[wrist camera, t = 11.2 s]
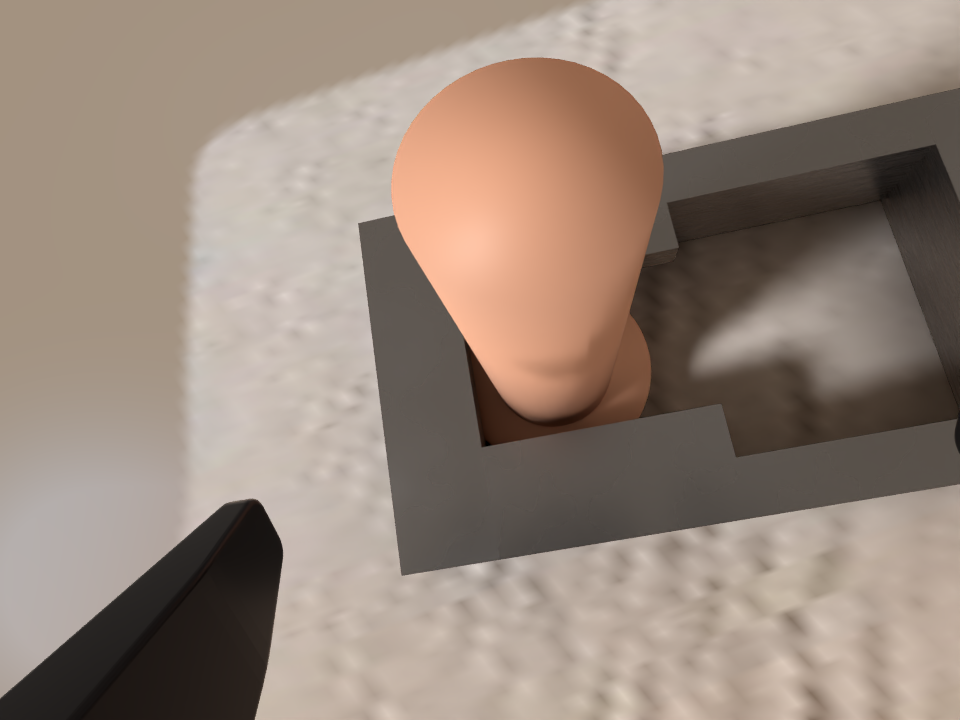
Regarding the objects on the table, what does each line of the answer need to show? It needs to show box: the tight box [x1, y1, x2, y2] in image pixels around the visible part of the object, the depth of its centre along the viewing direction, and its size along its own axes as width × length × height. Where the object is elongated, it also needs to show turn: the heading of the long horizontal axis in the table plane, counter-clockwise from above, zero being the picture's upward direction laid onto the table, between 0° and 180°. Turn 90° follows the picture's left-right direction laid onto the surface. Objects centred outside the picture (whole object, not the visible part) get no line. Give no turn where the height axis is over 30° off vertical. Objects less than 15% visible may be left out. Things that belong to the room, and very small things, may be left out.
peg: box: [391, 58, 664, 445], centre depth 14 cm, size 6×6×13 cm
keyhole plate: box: [358, 88, 960, 576], centre depth 19 cm, size 18×11×3 cm, turn 100°
